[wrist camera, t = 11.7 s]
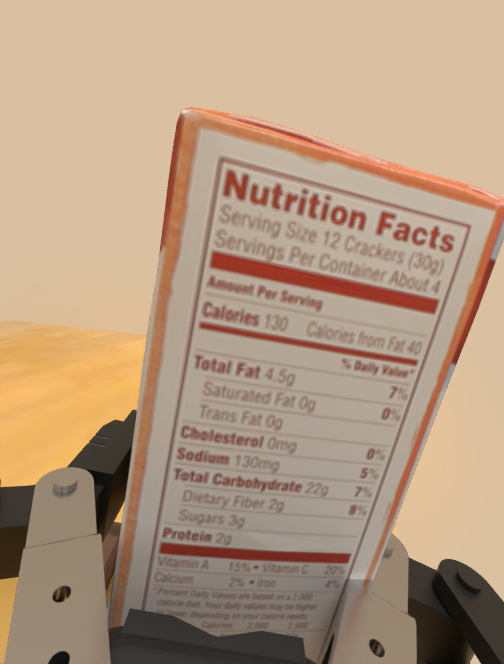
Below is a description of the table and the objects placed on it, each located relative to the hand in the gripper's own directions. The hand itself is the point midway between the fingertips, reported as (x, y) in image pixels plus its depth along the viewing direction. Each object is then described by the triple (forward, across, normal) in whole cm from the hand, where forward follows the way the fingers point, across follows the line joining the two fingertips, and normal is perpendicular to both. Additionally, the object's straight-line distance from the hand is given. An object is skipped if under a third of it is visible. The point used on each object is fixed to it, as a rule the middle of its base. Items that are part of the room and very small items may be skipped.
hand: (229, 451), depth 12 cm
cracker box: (+1, 0, +12) cm, 12 cm away
